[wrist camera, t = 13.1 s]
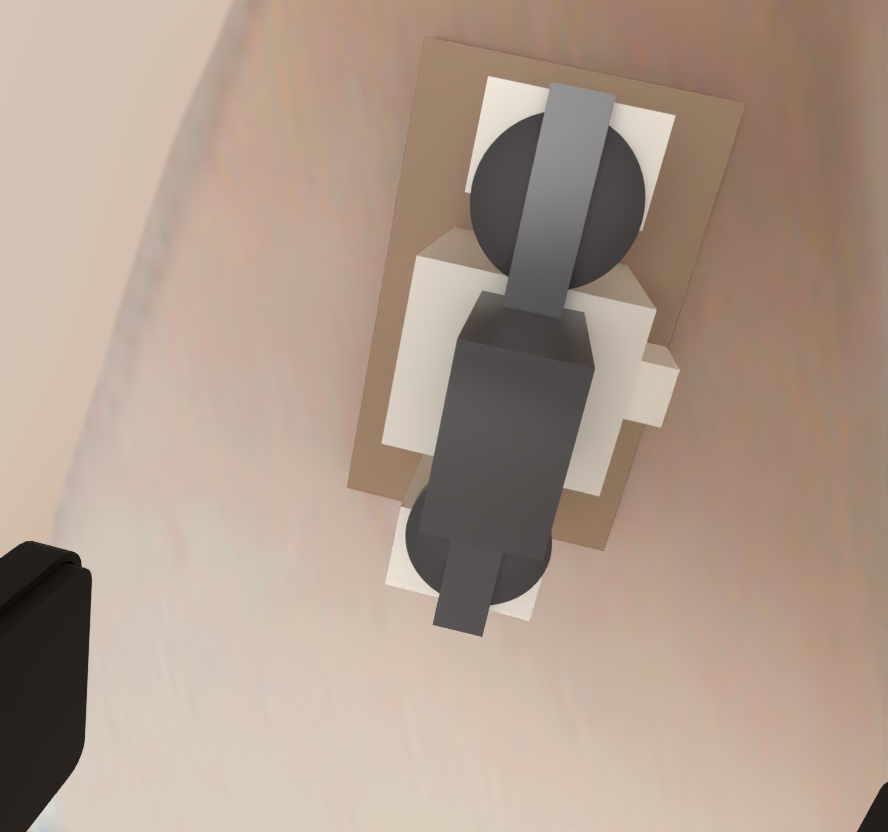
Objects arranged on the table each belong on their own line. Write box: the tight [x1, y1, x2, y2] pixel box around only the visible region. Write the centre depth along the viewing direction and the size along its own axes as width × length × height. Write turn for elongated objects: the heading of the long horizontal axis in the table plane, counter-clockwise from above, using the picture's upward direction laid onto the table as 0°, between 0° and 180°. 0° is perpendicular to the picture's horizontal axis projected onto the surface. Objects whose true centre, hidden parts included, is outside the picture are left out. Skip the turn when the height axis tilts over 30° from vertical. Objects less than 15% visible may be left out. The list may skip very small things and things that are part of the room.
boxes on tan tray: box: [347, 36, 746, 621], centre depth 27 cm, size 12×19×10 cm, turn 168°
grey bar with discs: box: [405, 82, 646, 637], centre depth 20 cm, size 5×16×6 cm, turn 169°
